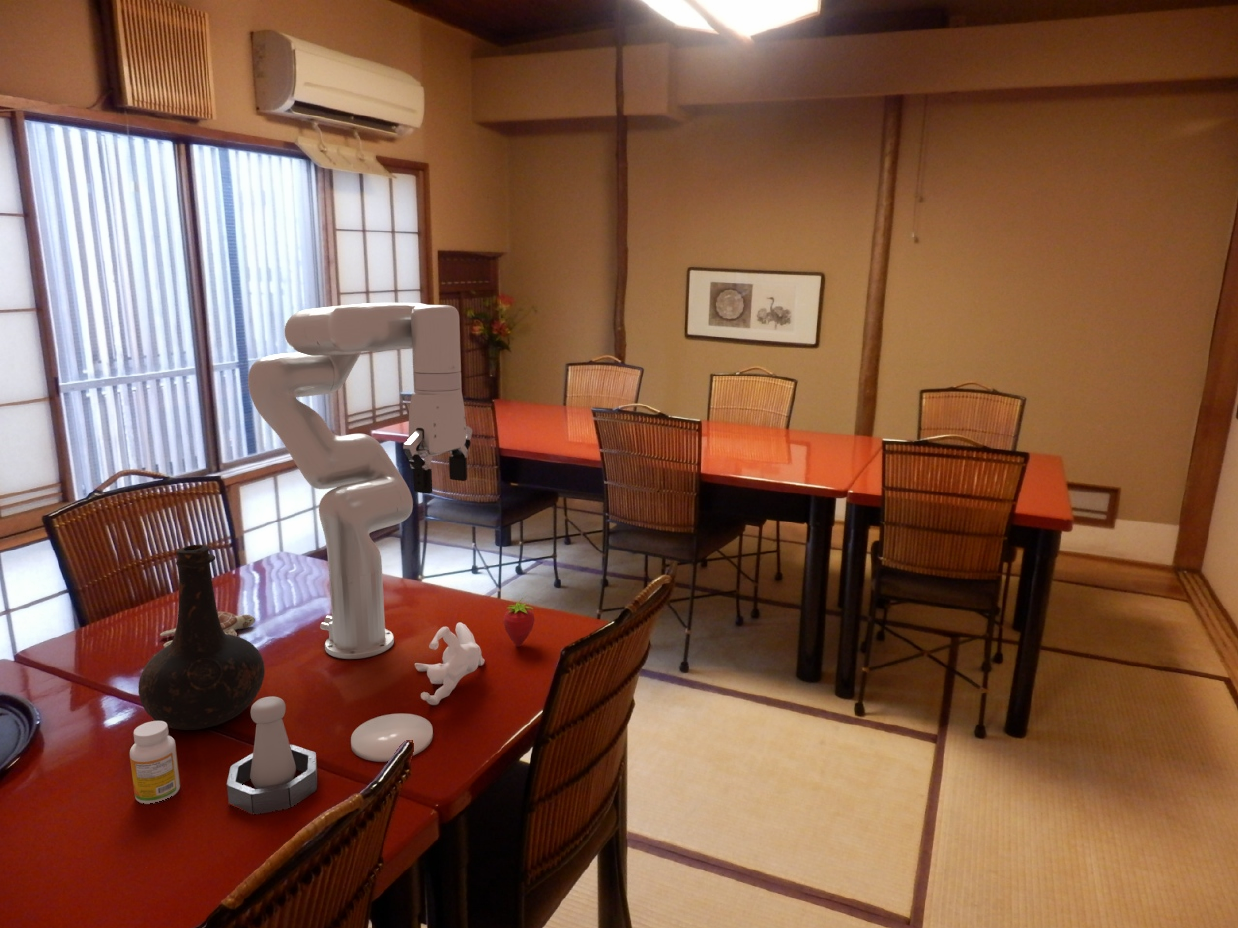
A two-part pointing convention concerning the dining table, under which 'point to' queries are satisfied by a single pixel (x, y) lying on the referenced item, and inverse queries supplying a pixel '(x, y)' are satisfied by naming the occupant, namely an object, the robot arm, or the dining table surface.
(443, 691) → the person figurine
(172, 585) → the dining table surface
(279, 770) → the salt shaker
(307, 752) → the metal ring
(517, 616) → the strawberry
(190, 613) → the glass bottle
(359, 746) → the ceramic coaster
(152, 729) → the supplement bottle
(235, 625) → the decorative turtle
